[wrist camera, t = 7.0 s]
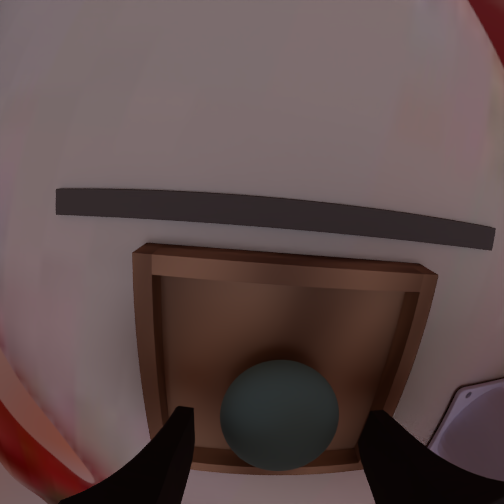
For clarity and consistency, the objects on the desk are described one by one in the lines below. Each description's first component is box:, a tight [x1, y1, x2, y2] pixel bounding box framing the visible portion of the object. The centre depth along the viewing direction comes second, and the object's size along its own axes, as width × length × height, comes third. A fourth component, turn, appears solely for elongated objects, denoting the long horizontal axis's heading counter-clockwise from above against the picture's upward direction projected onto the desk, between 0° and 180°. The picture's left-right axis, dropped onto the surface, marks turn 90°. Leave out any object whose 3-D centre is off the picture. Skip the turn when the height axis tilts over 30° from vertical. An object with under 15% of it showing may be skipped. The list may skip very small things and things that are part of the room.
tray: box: [132, 243, 438, 475], centre depth 14 cm, size 13×13×2 cm
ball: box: [220, 360, 339, 471], centre depth 12 cm, size 5×5×5 cm
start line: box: [56, 189, 496, 251], centre depth 13 cm, size 22×1×1 cm, turn 85°
